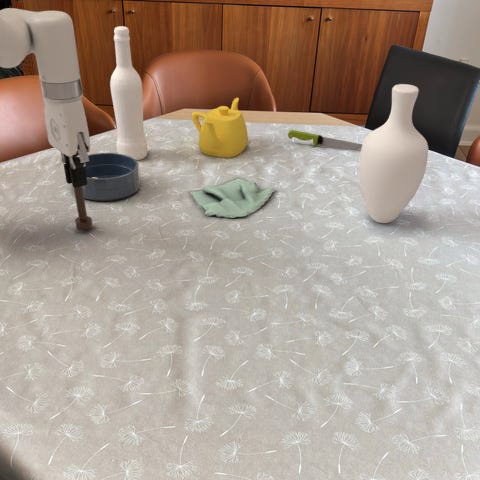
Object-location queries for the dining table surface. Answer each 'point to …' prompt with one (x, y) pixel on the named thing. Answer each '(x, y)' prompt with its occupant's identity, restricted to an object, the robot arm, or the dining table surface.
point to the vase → (393, 159)
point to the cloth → (232, 199)
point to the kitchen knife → (324, 141)
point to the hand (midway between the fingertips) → (77, 183)
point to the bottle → (127, 100)
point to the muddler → (81, 209)
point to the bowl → (110, 177)
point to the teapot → (222, 131)
